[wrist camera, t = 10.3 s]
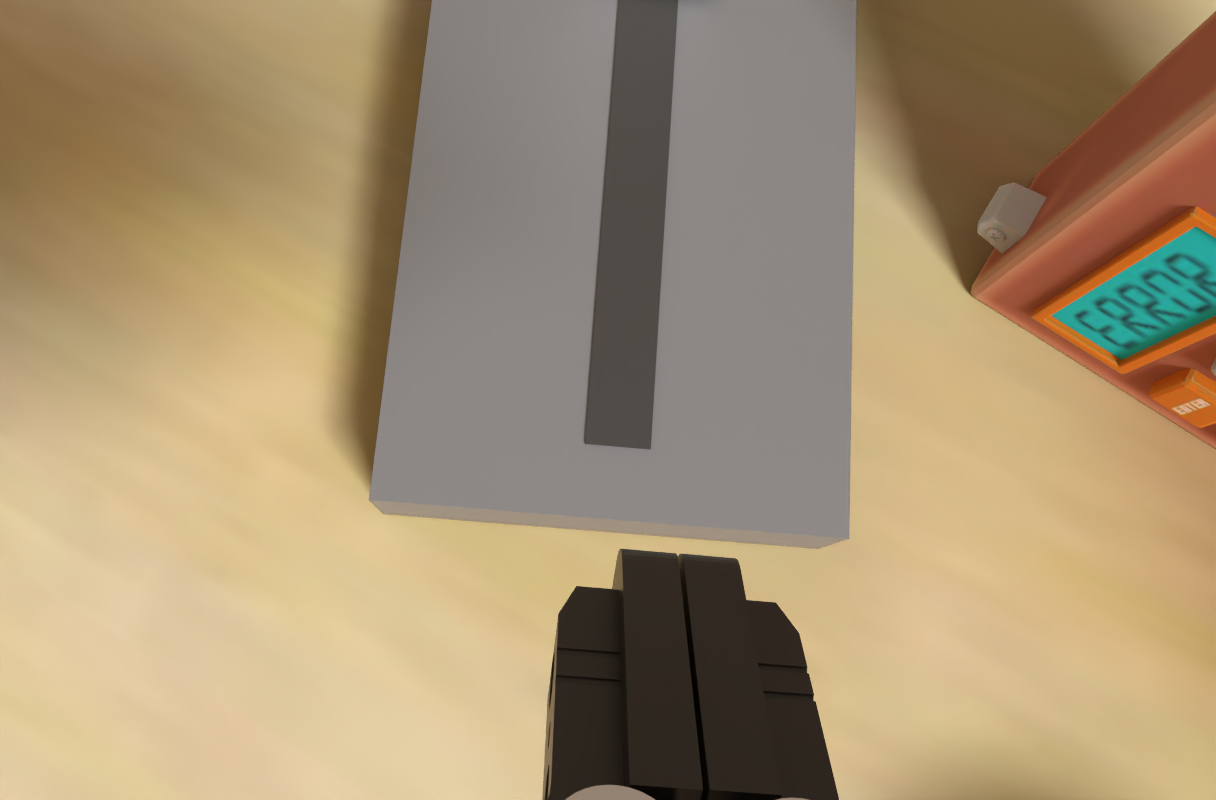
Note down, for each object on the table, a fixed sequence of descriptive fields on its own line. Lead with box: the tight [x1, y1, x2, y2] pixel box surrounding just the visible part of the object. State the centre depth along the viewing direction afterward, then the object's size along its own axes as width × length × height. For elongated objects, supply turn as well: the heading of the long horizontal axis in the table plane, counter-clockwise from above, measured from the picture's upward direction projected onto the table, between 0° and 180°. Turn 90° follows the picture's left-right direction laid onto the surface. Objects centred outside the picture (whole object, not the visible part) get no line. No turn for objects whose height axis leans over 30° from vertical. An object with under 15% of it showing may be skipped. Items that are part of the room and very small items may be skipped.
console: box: [369, 0, 857, 549], centre depth 32 cm, size 13×27×3 cm, turn 176°
